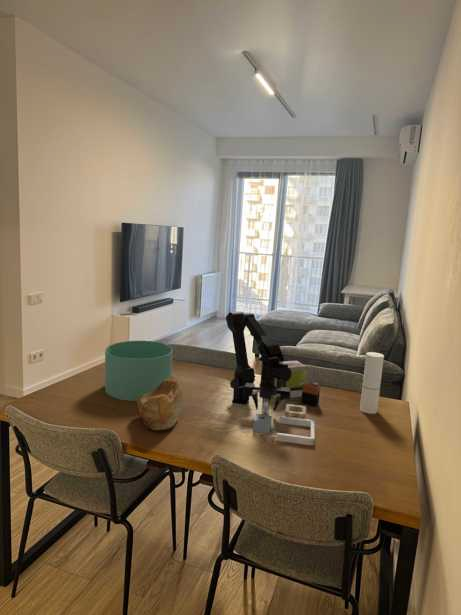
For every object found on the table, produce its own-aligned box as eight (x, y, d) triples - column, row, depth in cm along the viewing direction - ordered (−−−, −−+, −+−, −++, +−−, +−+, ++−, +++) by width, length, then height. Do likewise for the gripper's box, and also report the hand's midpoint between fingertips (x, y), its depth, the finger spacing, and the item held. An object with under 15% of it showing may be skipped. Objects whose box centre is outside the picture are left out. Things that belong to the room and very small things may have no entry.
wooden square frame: (284, 421, 167) (285, 411, 167) (285, 413, 175) (286, 403, 174) (305, 423, 166) (305, 414, 165) (305, 415, 174) (305, 406, 173)
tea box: (295, 389, 203) (297, 359, 200) (305, 397, 193) (308, 366, 191) (266, 391, 198) (268, 361, 195) (275, 399, 188) (277, 368, 186)
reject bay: (276, 440, 151) (277, 434, 151) (279, 421, 167) (279, 415, 166) (313, 445, 149) (314, 439, 148) (313, 426, 164) (313, 420, 164)
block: (252, 431, 158) (253, 419, 157) (255, 424, 163) (256, 413, 163) (268, 433, 156) (269, 422, 156) (270, 426, 162) (271, 415, 161)
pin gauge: (260, 416, 170) (262, 397, 169) (261, 413, 173) (263, 395, 172) (268, 417, 170) (270, 398, 168) (269, 414, 173) (270, 395, 171)
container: (184, 387, 197) (186, 348, 194) (139, 407, 173) (140, 363, 169) (138, 373, 213) (139, 337, 210) (90, 389, 188) (90, 349, 185)
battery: (315, 407, 182) (317, 385, 181) (300, 403, 186) (302, 382, 184) (318, 404, 186) (320, 382, 184) (304, 400, 189) (306, 379, 188)
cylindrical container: (377, 409, 185) (384, 353, 180) (376, 415, 178) (383, 358, 174) (361, 405, 188) (367, 351, 183) (358, 411, 181) (365, 355, 177)
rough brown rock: (149, 406, 176) (147, 372, 173) (188, 408, 172) (186, 374, 169) (125, 433, 153) (121, 394, 150) (168, 436, 150) (165, 397, 147)
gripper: (242, 377, 162) (239, 416, 165) (291, 383, 159) (287, 422, 162) (246, 369, 173) (243, 405, 176) (292, 374, 170) (288, 410, 173)
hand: (265, 410), depth 171 cm, fingers open, 7 cm apart
